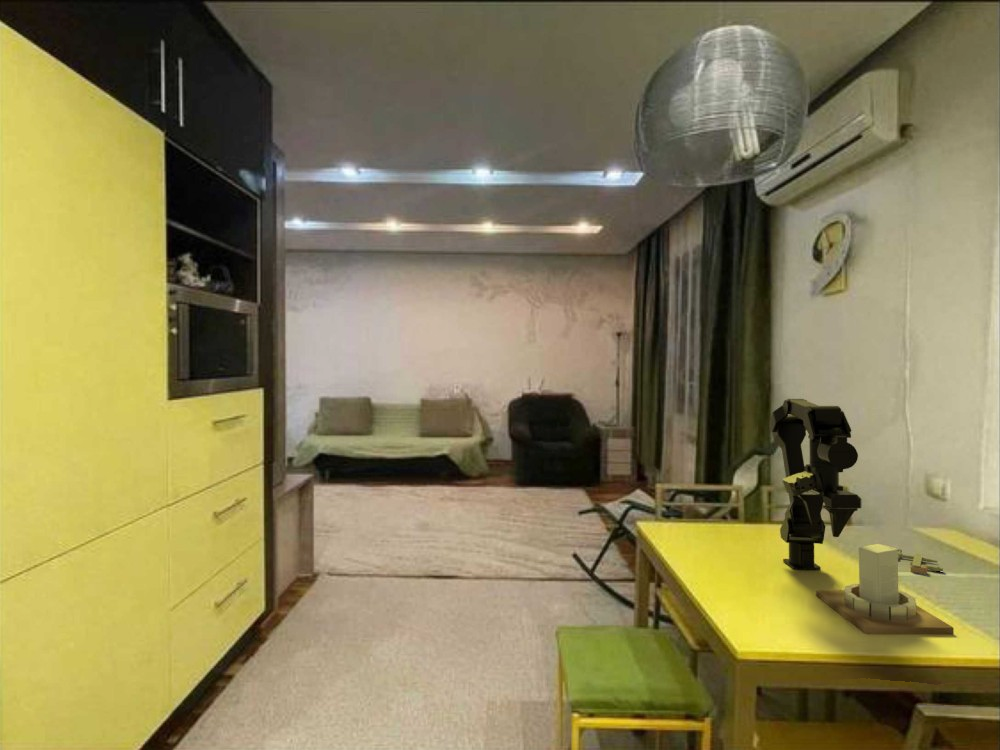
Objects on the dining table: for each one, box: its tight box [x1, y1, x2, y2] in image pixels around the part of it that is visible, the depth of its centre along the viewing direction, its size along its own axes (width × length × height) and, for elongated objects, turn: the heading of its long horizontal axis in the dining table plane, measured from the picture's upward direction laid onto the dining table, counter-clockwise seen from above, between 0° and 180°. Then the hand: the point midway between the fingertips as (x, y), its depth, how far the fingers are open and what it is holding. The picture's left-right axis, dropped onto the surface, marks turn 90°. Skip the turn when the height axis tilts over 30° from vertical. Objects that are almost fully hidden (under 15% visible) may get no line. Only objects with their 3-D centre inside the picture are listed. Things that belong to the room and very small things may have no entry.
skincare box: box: [858, 543, 899, 605], centre depth 116 cm, size 6×4×12 cm
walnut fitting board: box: [815, 589, 955, 635], centre depth 116 cm, size 18×16×1 cm
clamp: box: [897, 548, 944, 575], centre depth 143 cm, size 15×2×10 cm
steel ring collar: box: [843, 583, 917, 620], centre depth 116 cm, size 12×12×2 cm
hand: (824, 530), depth 129 cm, fingers open, 9 cm apart
